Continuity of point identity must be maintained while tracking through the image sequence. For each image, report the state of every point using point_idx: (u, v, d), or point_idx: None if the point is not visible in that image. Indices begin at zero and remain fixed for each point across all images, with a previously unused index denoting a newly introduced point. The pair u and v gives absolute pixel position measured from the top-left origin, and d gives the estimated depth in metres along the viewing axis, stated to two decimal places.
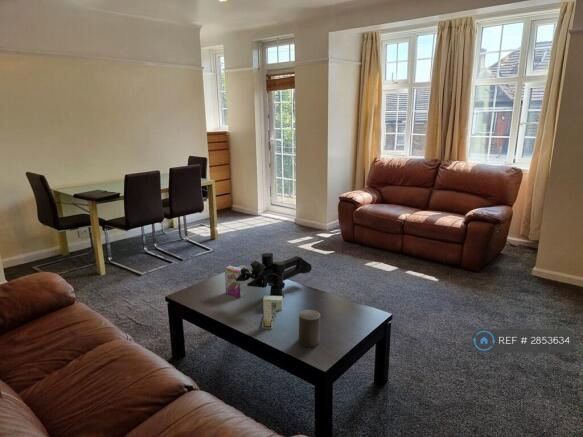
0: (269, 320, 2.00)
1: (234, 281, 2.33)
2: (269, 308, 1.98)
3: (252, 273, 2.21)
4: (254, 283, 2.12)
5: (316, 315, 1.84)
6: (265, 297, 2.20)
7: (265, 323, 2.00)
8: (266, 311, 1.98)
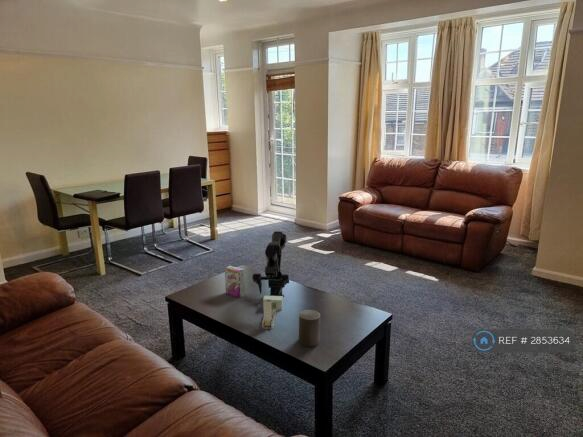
0: (269, 320, 2.00)
1: (234, 281, 2.33)
2: (269, 308, 1.98)
3: (267, 275, 2.10)
4: (281, 287, 2.08)
5: (316, 315, 1.84)
6: (265, 297, 2.20)
7: (265, 323, 2.00)
8: (266, 311, 1.98)
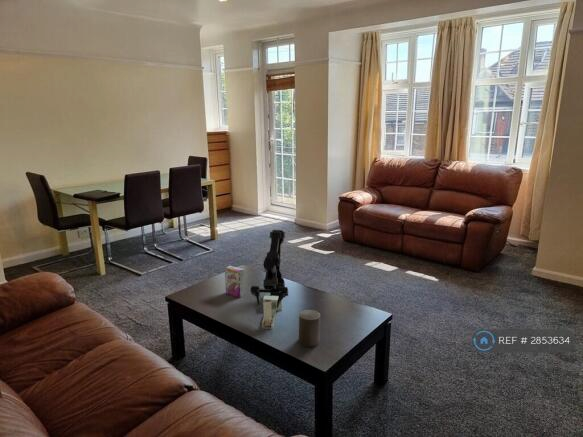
0: (269, 320, 2.00)
1: (234, 281, 2.33)
2: (269, 308, 1.98)
3: (265, 288, 2.05)
4: (280, 300, 2.03)
5: (316, 315, 1.84)
6: (265, 297, 2.20)
7: (265, 323, 2.00)
8: (266, 311, 1.98)
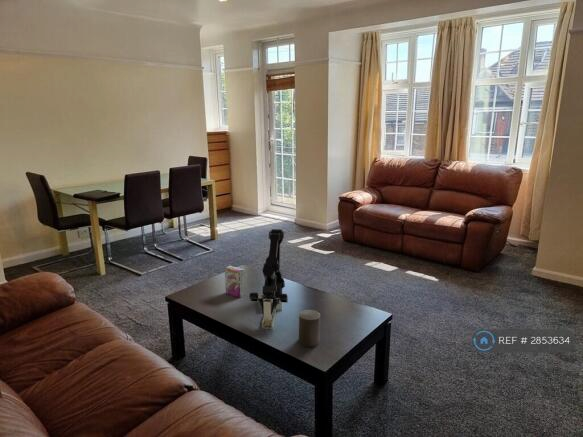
0: (269, 320, 2.00)
1: (234, 281, 2.33)
2: (269, 308, 1.98)
3: (264, 294, 2.02)
4: (274, 307, 2.01)
5: (316, 315, 1.84)
6: None
7: (265, 323, 2.00)
8: (266, 311, 1.98)
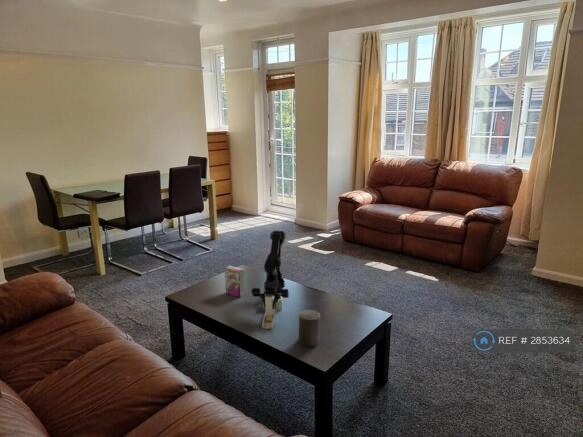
0: (271, 315, 2.05)
1: (234, 281, 2.33)
2: (271, 303, 2.03)
3: (266, 290, 2.08)
4: (275, 302, 2.06)
5: (316, 315, 1.84)
6: None
7: (267, 318, 2.05)
8: (268, 306, 2.04)
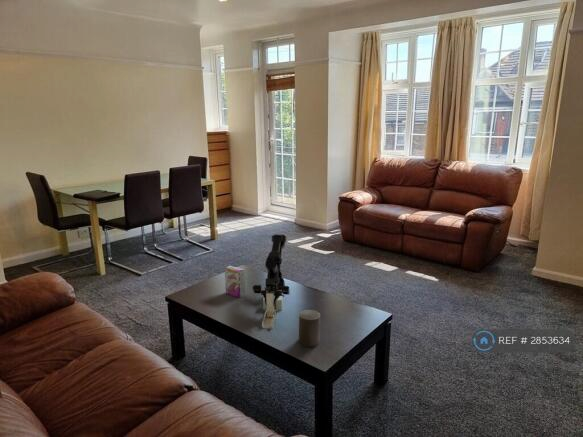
0: (272, 311, 2.09)
1: (234, 281, 2.33)
2: (272, 299, 2.07)
3: (267, 287, 2.11)
4: (276, 298, 2.10)
5: (316, 315, 1.84)
6: None
7: (268, 314, 2.09)
8: (269, 303, 2.08)
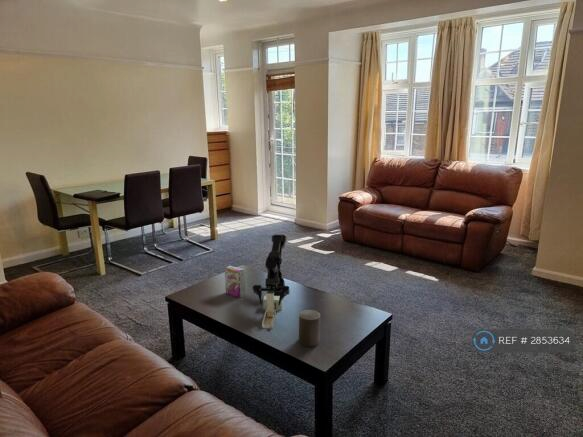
0: (272, 311, 2.09)
1: (234, 281, 2.33)
2: (272, 299, 2.07)
3: (267, 286, 2.11)
4: (281, 298, 2.09)
5: (316, 315, 1.84)
6: (265, 297, 2.20)
7: (268, 314, 2.09)
8: (269, 303, 2.08)
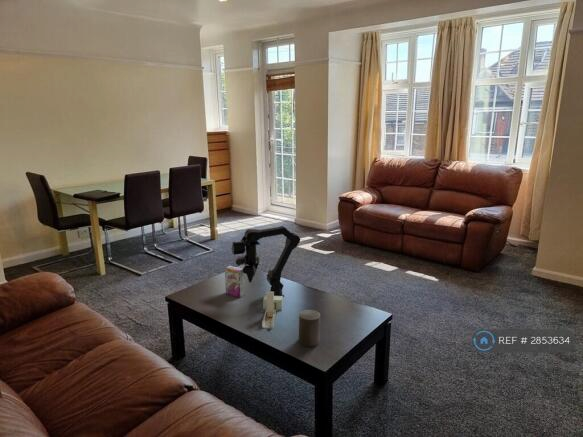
0: (272, 311, 2.09)
1: (234, 281, 2.33)
2: (272, 299, 2.07)
3: None
4: (250, 276, 2.21)
5: (316, 315, 1.84)
6: (265, 297, 2.20)
7: (268, 314, 2.09)
8: (269, 303, 2.08)
